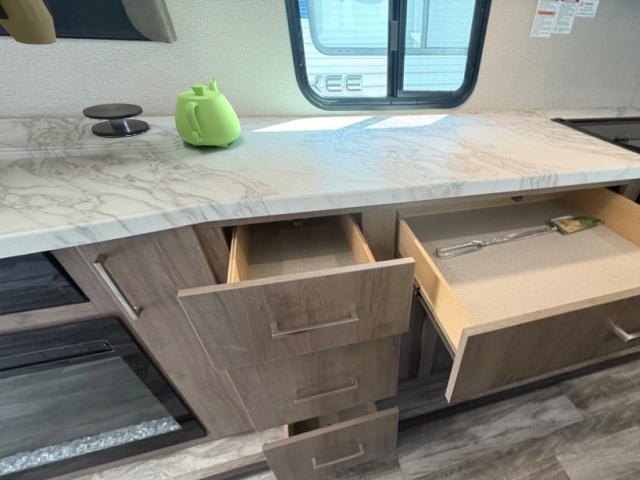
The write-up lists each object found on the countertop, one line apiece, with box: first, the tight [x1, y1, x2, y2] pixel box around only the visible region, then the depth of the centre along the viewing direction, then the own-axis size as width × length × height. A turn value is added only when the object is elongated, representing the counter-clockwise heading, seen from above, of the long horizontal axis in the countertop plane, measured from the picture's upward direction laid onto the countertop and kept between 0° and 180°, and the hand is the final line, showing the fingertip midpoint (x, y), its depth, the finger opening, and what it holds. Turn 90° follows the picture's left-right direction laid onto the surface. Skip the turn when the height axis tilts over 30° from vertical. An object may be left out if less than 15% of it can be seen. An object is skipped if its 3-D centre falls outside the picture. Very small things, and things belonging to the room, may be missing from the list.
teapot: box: [174, 77, 242, 148], centre depth 87 cm, size 22×15×13 cm
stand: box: [82, 102, 150, 137], centre depth 90 cm, size 13×13×5 cm
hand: (24, 17), depth 61 cm, fingers closed on squeeze bottle, 8 cm apart
